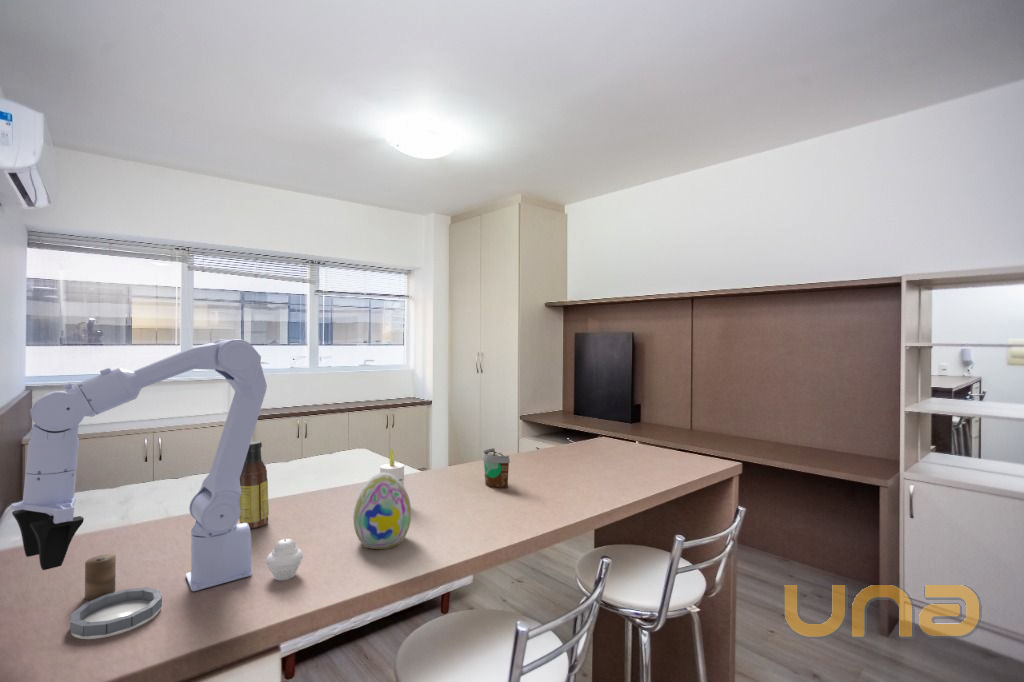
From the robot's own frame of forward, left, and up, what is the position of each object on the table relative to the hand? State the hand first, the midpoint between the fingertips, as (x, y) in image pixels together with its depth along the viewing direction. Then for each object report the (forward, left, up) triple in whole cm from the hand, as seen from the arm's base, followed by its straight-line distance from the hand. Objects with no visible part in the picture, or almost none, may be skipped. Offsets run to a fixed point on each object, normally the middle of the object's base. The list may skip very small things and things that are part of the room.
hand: (43, 560), depth 74 cm
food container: (-99, -15, -10) cm, 100 cm away
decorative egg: (-54, +3, -10) cm, 55 cm away
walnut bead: (-7, -8, -10) cm, 14 cm away
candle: (-67, -18, -10) cm, 70 cm away
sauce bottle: (-35, -26, -10) cm, 44 cm away
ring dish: (-9, +4, -10) cm, 14 cm away
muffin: (-33, +6, -10) cm, 35 cm away
